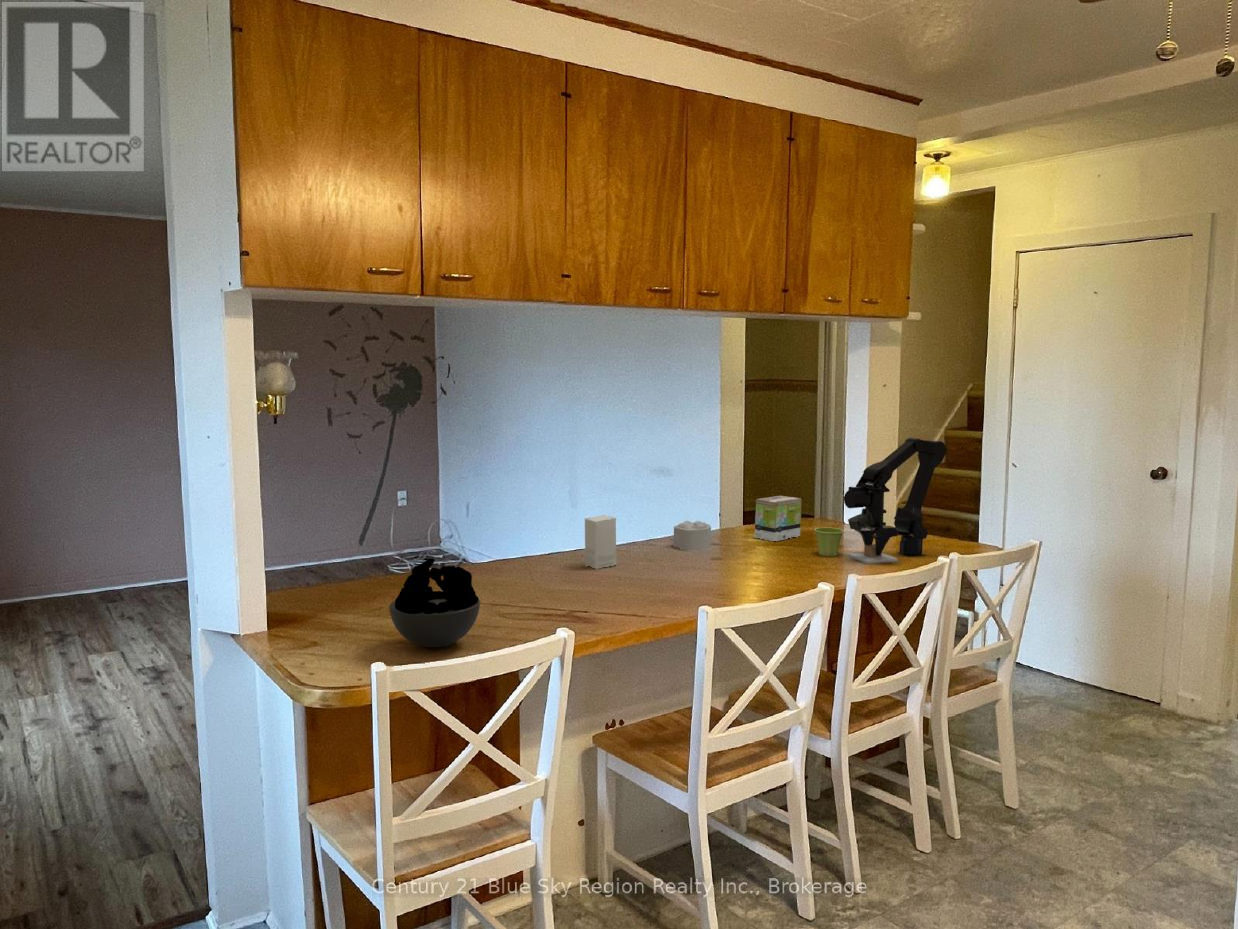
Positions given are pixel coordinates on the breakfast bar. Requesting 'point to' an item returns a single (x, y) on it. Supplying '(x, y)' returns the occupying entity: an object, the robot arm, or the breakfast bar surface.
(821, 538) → the plant pot
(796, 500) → the tea box
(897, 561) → the mat
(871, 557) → the lid
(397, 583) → the breakfast bar surface
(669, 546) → the breakfast bar surface
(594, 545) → the skincare box
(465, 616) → the coal bowl
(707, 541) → the lumpy-topped squat cylinder
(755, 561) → the breakfast bar surface
